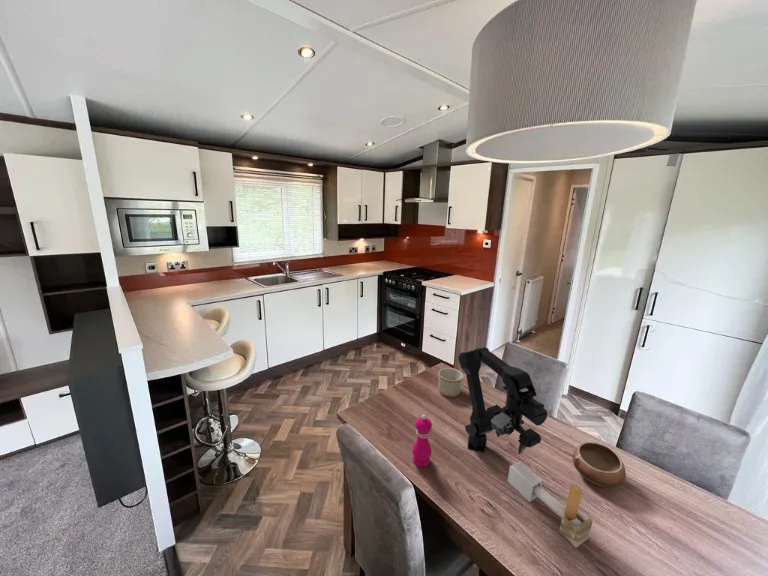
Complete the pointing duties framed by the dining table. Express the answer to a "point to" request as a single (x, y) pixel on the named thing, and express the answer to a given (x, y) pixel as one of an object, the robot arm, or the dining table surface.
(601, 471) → the bowl
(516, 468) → the outer sleeve
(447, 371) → the planter
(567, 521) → the end socket
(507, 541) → the dining table surface
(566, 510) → the multicoloured piece
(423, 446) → the pepper mill
